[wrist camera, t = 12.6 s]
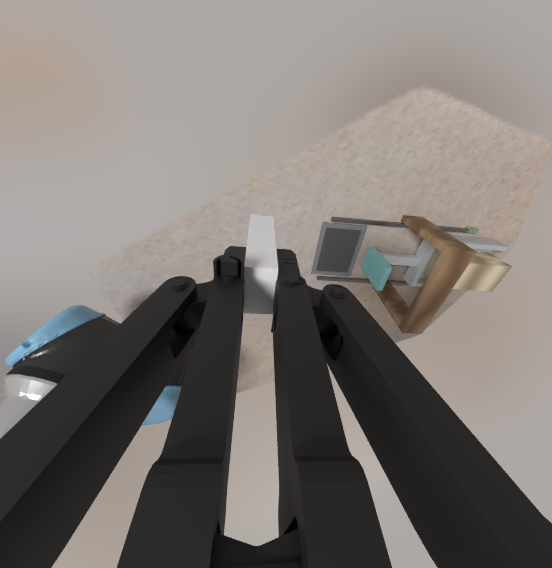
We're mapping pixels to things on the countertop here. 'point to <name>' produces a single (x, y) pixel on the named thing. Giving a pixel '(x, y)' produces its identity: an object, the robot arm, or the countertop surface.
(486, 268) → the bar
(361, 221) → the track
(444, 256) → the tunnel
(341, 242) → the pad
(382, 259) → the sled
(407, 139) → the countertop surface
